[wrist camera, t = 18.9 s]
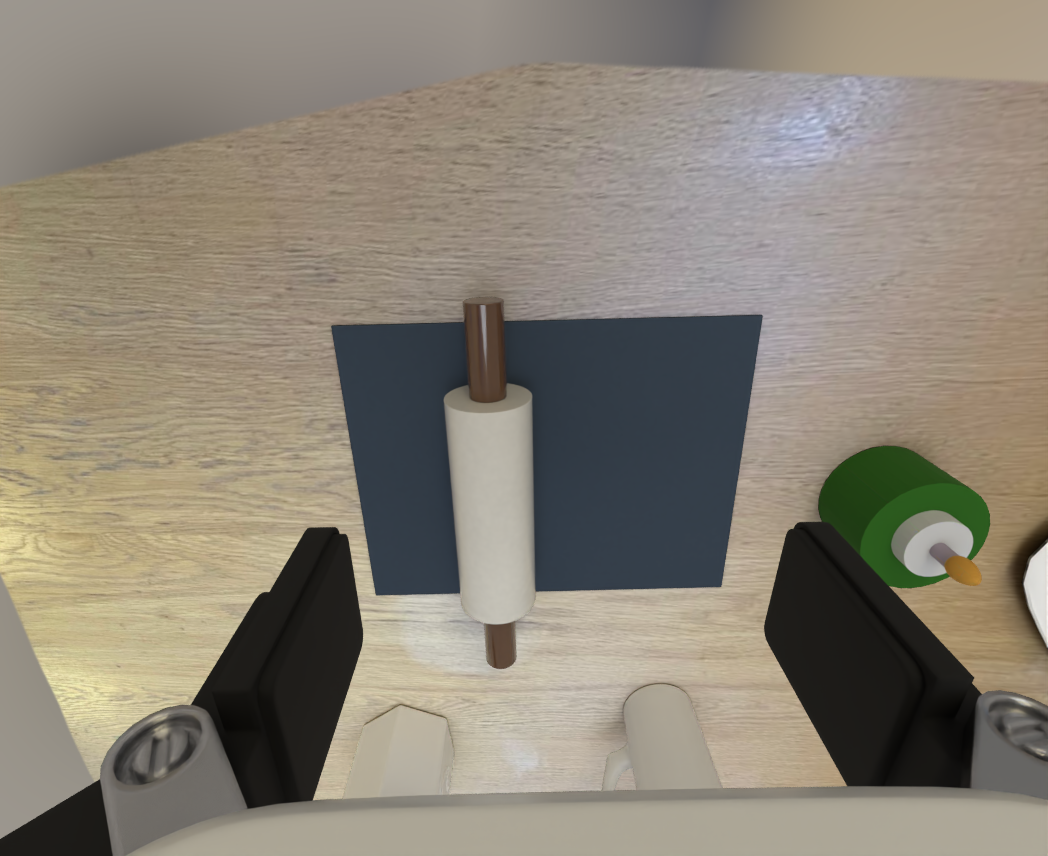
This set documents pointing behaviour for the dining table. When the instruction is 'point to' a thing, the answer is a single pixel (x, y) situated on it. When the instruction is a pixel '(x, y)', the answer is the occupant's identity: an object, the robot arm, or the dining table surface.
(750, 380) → the baking mat
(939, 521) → the candle
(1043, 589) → the plate
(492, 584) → the rolling pin
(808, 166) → the dining table surface
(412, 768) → the jar
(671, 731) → the mug
